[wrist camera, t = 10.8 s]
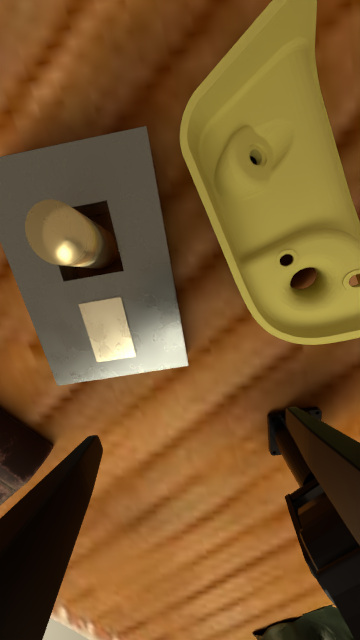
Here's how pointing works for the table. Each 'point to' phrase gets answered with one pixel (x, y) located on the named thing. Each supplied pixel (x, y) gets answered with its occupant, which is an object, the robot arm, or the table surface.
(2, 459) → the diary
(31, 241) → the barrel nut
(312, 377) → the table surface
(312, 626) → the rose bouquet
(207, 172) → the plastic component
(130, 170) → the flange plate
